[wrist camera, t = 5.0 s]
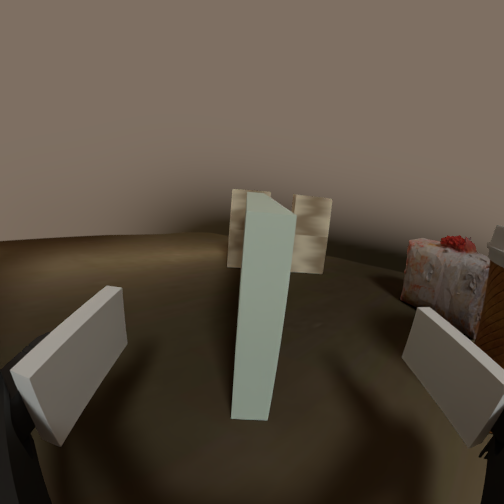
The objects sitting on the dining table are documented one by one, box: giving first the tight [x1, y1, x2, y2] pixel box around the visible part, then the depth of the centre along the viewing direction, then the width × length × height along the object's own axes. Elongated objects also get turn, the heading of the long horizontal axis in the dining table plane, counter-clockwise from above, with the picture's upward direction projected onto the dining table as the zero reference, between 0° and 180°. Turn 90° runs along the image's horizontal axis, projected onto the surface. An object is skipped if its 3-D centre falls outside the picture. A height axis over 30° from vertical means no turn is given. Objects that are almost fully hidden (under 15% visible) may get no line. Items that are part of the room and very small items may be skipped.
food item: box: [400, 236, 490, 339], centre depth 28 cm, size 14×8×10 cm, turn 19°
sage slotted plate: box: [231, 192, 297, 420], centre depth 24 cm, size 24×2×11 cm, turn 1°
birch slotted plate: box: [227, 189, 332, 274], centre depth 42 cm, size 14×2×11 cm, turn 91°
